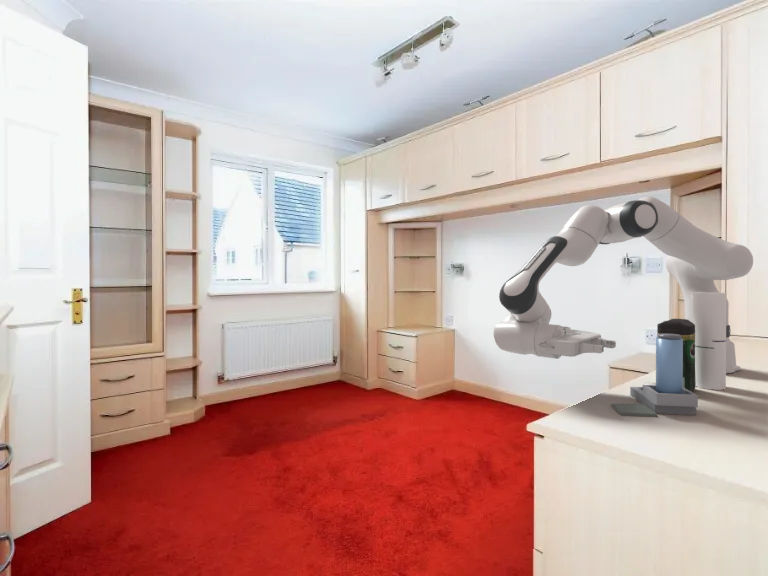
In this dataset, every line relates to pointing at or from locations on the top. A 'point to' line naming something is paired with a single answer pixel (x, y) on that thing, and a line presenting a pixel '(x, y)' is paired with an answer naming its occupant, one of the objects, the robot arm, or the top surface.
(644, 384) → the white rounded piece
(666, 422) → the top surface
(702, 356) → the cylindrical container
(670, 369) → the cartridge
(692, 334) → the coffee jar
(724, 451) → the top surface
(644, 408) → the mat
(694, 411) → the frame
